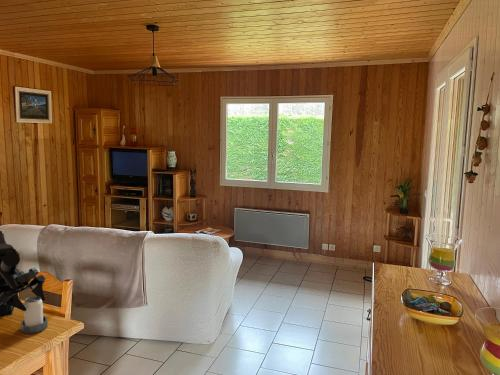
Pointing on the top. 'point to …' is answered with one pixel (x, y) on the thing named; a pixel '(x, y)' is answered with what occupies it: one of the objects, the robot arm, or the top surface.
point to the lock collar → (34, 327)
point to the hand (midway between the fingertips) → (35, 305)
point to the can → (33, 311)
